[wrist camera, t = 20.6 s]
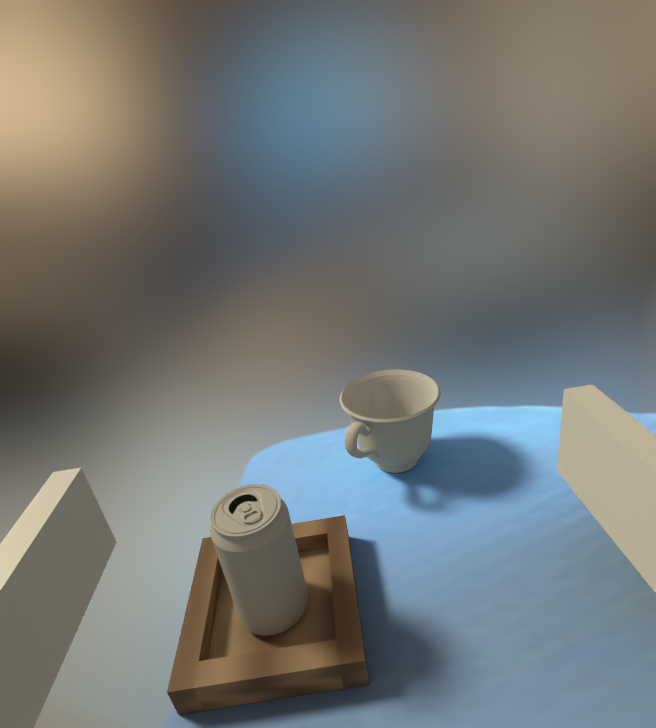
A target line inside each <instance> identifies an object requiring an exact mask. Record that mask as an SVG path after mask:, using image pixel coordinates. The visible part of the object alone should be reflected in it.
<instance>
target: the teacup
mask: <svg viewBox="0 0 656 728" xmlns="http://www.w3.org/2000/svg"><path fill="white" fill-rule="evenodd" d="M440 394H441V392H440V388H439V386H438V384H437V383H436V382H435V381H434V380H433V379H431V378H430V377H428V376H426V375H424V374H421V373H418V372H414V371H408V370H383V371H378V372H373V373H370V374H367V375H364V376H362V377H359V378H357V379H355V380H354V381H352V382H351V383H350V384H348V385H347V386H346V388H345V389H344V390H343V391H342V393H341V396H340V404H341V406H342V408H343V409H344V410H345V411H346V412H347V413H348V414H349V417H350V419H351V423H352V424H351V425H350V426H349V427H348V429H347V431H346V434H345V447H346V450H347V452H348V453H349V454H350V455H351V456H353V457H356V458H364V457H368V458H369V459H370V460H372V461H374V463H375V465H376V466H377V467H378V468H379V469H381V470H383V471H386V472H390V473H400V472H405V471H407V470H410V469H411V468H413V467H414V466H415V465H416V464H417V462H418V458H420V457H421V456H422V455H423V454H424V453H425V451H426V450H427V448H428V446H429V443H430V439H431V433H432V423H433V412H434V406H435V405H436V403H437V402H438V401H439V399H440ZM357 442H358V445H359V447H360V449H358V448H357Z"/></svg>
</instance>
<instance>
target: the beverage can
mask: <svg viewBox="0 0 656 728" xmlns="http://www.w3.org/2000/svg"><path fill="white" fill-rule="evenodd" d="M210 535H211V539H212V542H213V544H214V547H215V550H216V553H217V556H218V559H219V562H220V564H221V567H222V570H223V573H224V576H225V579H226V581H227V584H228V587H229V590H230V593H231V596H232V599H233V601H234V604H235V607H236V610H237V613H238V616H239V618H240V621H241V623H242V624H243V626H244V627H245V628H246V629H247V630H249V631H250V632H252V633H254V634H257V635H263V636H269V635H275V634H279V633H282V632H284V631H286V630H288V629H289V628H291V627H292V626H293V625H294V624H296V623H297V621H298V620H299V619H300V618H301V617H302V615H303V613H304V611H305V609H306V606H307V603H308V590H307V586H306V582H305V578H304V574H303V570H302V565H301V561H300V557H299V553H298V549H297V545H296V541H295V537H294V532H293V528H292V524H291V520H290V516H289V512H288V508H287V505H286V504H285V502H284V501H283V500H282V499H281V498H280V496H279V494H278V493H277V492H276V491H275V490H274V489H273V488H271V487H268V486H265V485H248V486H243V487H240V488H237V489H235V490H233V491H231V492H229V493H228V494H226V495H225V496H224V497H222V498H221V499H220V500H219V501H218V502H217V504H216V505H215V507H214V508H213V511H212V514H211V527H210Z"/></svg>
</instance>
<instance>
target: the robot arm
mask: <svg viewBox="0 0 656 728" xmlns="http://www.w3.org/2000/svg"><path fill="white" fill-rule="evenodd" d="M557 471H558V472H559V474H560V475H561V476H562V477H563V479H564V480H565V481H566V482H567V483H568V485H569V486H570V487H571V488H572V490H573V491H574V492H575V493H576V495H577V496H578V497H579V498H580V500H581V501H582V502H583V503H584V505H585V506H586V507H587V508H588V510H589V511H590V512H591V513H592V514H593V516H594V517H595V518H596V519H597V521H598V522H599V523H600V524H601V526H602V527H603V528H604V529H605V531H606V532H607V533H608V534H609V536H610V537H611V538H612V539H613V541H614V542H615V543H616V544H617V545H618V547H619V548H620V549H621V550H622V552H623V553H624V554H625V555H626V557H627V558H628V559H629V560H630V562H631V563H632V564H633V565H634V567H635V568H636V569H637V570H638V572H639V573H640V574H641V575H642V576H643V578H644V579H645V580H646V581H647V583H648V584H649V585H650V586H651V588H652V589H653V590H654V591H655V593H656V436H655V435H654V434H653V433H652V432H651V431H649V430H648V429H647V428H646V427H644V426H643V425H642V424H641V423H639V422H638V421H637V420H636V419H634V418H633V417H632V416H631V415H629V414H628V413H627V412H626V411H624V410H623V409H622V408H621V407H619V406H618V405H617V404H616V403H615V402H613V401H612V400H611V399H609V398H608V397H607V396H606V395H604V394H603V393H602V392H601V391H600V390H598V389H597V388H596V387H595V386H593V385H587V386H581V387H575V388H569V389H564V396H563V407H562V419H561V431H560V442H559V454H558V465H557ZM115 544H116V540H115V538H114V535H113V533H112V531H111V529H110V527H109V525H108V523H107V521H106V519H105V517H104V514H103V512H102V510H101V509H100V506H99V504H98V502H97V500H96V498H95V496H94V494H93V491H92V489H91V487H90V485H89V483H88V481H87V479H86V477H85V475H84V473H83V470H82V468H76V469H70V470H64V471H58V472H53V473H52V474H51V476H50V477H49V479H48V480H47V481H46V483H45V484H44V485H43V487H42V488H41V489H40V491H39V492H38V494H37V495H36V496H35V498H34V499H33V500H32V502H31V503H30V505H29V506H28V507H27V509H26V510H25V511H24V513H23V514H22V516H21V517H20V518H19V520H18V521H17V522H16V524H15V525H14V526H13V528H12V529H11V530H10V532H9V533H8V534H7V536H6V537H5V538H4V540H3V541H2V543H1V544H0V728H34V726H35V723H36V721H37V719H38V717H39V714H40V712H41V710H42V708H43V705H44V703H45V701H46V699H47V697H48V694H49V692H50V690H51V687H52V685H53V683H54V681H55V679H56V676H57V674H58V672H59V670H60V667H61V665H62V663H63V661H64V658H65V656H66V654H67V652H68V649H69V647H70V645H71V643H72V641H73V638H74V636H75V634H76V632H77V629H78V627H79V625H80V622H81V620H82V618H83V616H84V614H85V611H86V609H87V607H88V605H89V602H90V600H91V598H92V596H93V593H94V591H95V589H96V587H97V584H98V582H99V580H100V578H101V575H102V573H103V571H104V569H105V567H106V564H107V562H108V560H109V558H110V555H111V553H112V551H113V549H114V546H115Z"/></svg>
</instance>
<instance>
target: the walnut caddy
mask: <svg viewBox="0 0 656 728" xmlns="http://www.w3.org/2000/svg"><path fill="white" fill-rule="evenodd" d="M292 528H293V532H294V537H295V541H296V545H297V549H298V553H299V557H300V561H301V565H302V570H303V574H304V578H305V582H306V586H307V590H308V603H307V606H306V609H305V611H304V613H303V615H302V617H301V618H300V619H299V620H298V621H297V623H296V624H294V625H293V626H292V627H291V628H289V629H288V630H286V631H284V632H282V633H279V634H275V635H269V636H263V635H257V634H254V633H252V632H250V631H249V630H247V629H246V628H245V627H244V626H243V624H242V623H241V621H240V618H239V616H238V613H237V610H236V607H235V604H234V601H233V599H232V596H231V593H230V590H229V587H228V584H227V581H226V579H225V576H224V573H223V570H222V567H221V564H220V562H219V559H218V556H217V553H216V550H215V547H214V544H213V542H212V539H211V537H209V538H203V540H202V544H201V548H200V552H199V557H198V561H197V565H196V570H195V574H194V578H193V583H192V587H191V591H190V596H189V600H188V604H187V609H186V613H185V617H184V622H183V626H182V630H181V635H180V639H179V643H178V648H177V652H176V656H175V660H174V665H173V669H172V674H171V678H170V682H169V686H168V691H167V693H168V695H169V697H170V699H171V701H172V703H173V705H174V707H175V709H176V711H177V713H178V715H181V714H187V713H193V712H199V711H206V710H212V709H218V708H224V707H231V706H237V705H243V704H249V703H256V702H262V701H268V700H274V699H280V698H287V697H293V696H299V695H305V694H312V693H318V692H324V691H330V690H337V689H343V688H349V687H355V686H362V685H368V684H369V679H368V672H367V664H366V657H365V650H364V643H363V636H362V629H361V621H360V614H359V607H358V600H357V593H356V586H355V579H354V571H353V564H352V557H351V550H350V543H349V536H348V530H347V524H346V519H345V516H339V517H332V518H326V519H320V520H314V521H308V522H301V523H295V524H292Z"/></svg>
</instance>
